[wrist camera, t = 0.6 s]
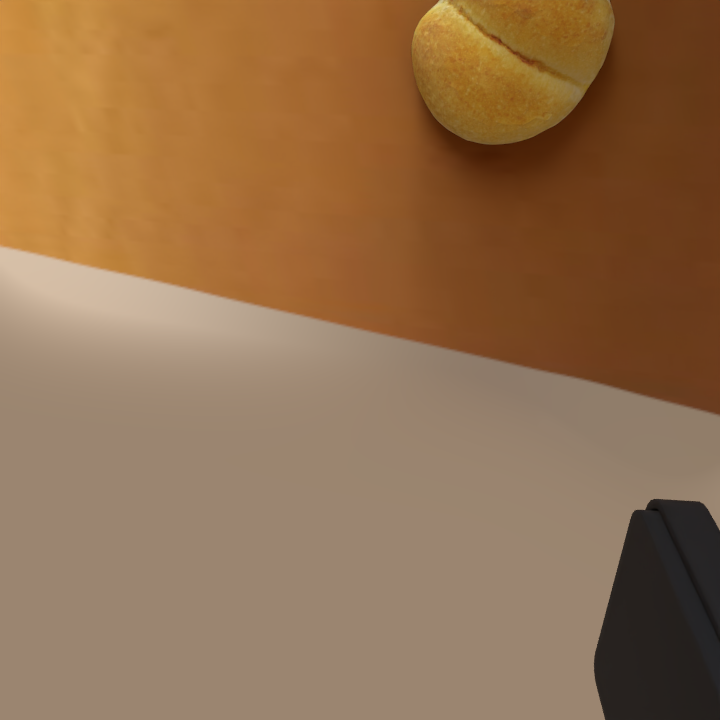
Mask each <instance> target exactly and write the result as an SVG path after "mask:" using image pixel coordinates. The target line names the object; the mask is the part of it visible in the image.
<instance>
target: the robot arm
mask: <svg viewBox="0 0 720 720" xmlns="http://www.w3.org/2000/svg"><path fill="white" fill-rule="evenodd" d="M594 673H595V681H596V686H597V689H598V693H599V697H600V701H601V705H602V709H603V713H604V716H605V720H720V530H719V529H718V527H717V525H716V523H715V521H714V520H713V518H712V516H711V515H710V513H709V511H708V509H707V508H706V507H705V505H704V504H702V503H700V502H696V501H678V500H663V499H653V500H651V501H650V502H649V503H648V505H647V507H646V510H636V511H634V512H633V514H632V516H631V519H630V523H629V527H628V531H627V534H626V538H625V542H624V546H623V550H622V554H621V557H620V561H619V565H618V568H617V572H616V576H615V580H614V584H613V588H612V591H611V595H610V599H609V603H608V607H607V610H606V614H605V618H604V622H603V626H602V629H601V633H600V637H599V641H598V644H597V648H596V652H595V659H594Z"/></svg>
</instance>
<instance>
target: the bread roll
mask: <svg viewBox="0 0 720 720" xmlns="http://www.w3.org/2000/svg"><path fill="white" fill-rule="evenodd" d="M614 24H615V20H614V14H613V11H612V6H611V3H610V0H439V2H438V3H437V4H436V5H435V6H434V7H433V8H432V9H430V10H429V11H428V12H427V14H426V15H425V16H424V17H423V18H422V19H421V20H420V22H419V23H418V26H417V28H416V30H415V32H414V36H413V41H412V48H411V56H412V63H413V69H414V75H415V79H416V83H417V86H418V89H419V91H420V94H421V95H422V97H423V99H424V101H425V103H426V105H427V107H428V108H429V110H430V111H431V113H432V115H433V116H434V117H435V118H436V120H437V121H438V122H439V123H440V124H442V125H443V126H444V127H445V128H446V129H448V130H449V131H451V132H453V133H454V134H456V135H458V136H459V137H461V138H463V139H465V140H468V141H472V142H476V143H482V144H493V145H494V144H508V143H514V142H518V141H522V140H526V139H529V138H531V137H534V136H535V135H537V134H539V133H541V132H543V131H545V130H547V129H548V128H551V127H553V126H555V125H556V124H558V123H559V122H560V121H561V120H563V119H564V118H565V117H566V116H567V115H568V114H569V113H570V112H571V111H572V110H573V109H574V108H575V106H576V105H577V104H578V103H579V101H580V100H581V99H582V97H583V96H584V94H585V92H586V90H587V89H588V87H589V86H590V84H591V83H592V82H593V80H594V79H595V77H596V75H597V74H598V72H599V70H600V68H601V67H602V65H603V63H604V60H605V57H606V55H607V52H608V49H609V46H610V42H611V39H612V35H613V30H614Z"/></svg>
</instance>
